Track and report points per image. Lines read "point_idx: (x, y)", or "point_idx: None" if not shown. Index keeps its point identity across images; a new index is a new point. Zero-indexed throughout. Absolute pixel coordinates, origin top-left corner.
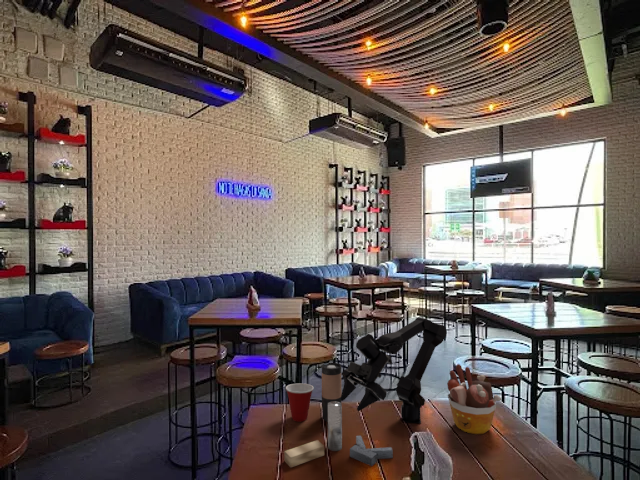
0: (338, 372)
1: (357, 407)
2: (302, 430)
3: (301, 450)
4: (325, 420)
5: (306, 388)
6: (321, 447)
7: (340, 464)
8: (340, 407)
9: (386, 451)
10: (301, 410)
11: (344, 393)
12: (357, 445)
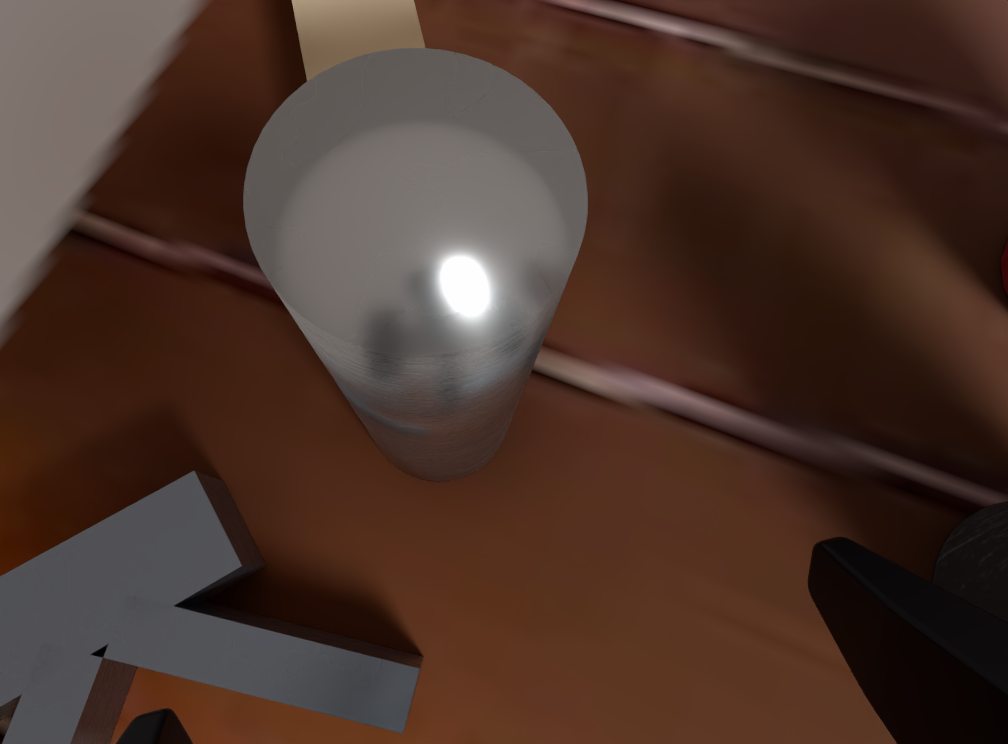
0: None
1: (151, 740)
2: (826, 235)
3: (345, 25)
4: (975, 513)
5: None
6: None
7: (153, 349)
8: (273, 285)
9: None
10: None
11: (951, 680)
12: (353, 640)
